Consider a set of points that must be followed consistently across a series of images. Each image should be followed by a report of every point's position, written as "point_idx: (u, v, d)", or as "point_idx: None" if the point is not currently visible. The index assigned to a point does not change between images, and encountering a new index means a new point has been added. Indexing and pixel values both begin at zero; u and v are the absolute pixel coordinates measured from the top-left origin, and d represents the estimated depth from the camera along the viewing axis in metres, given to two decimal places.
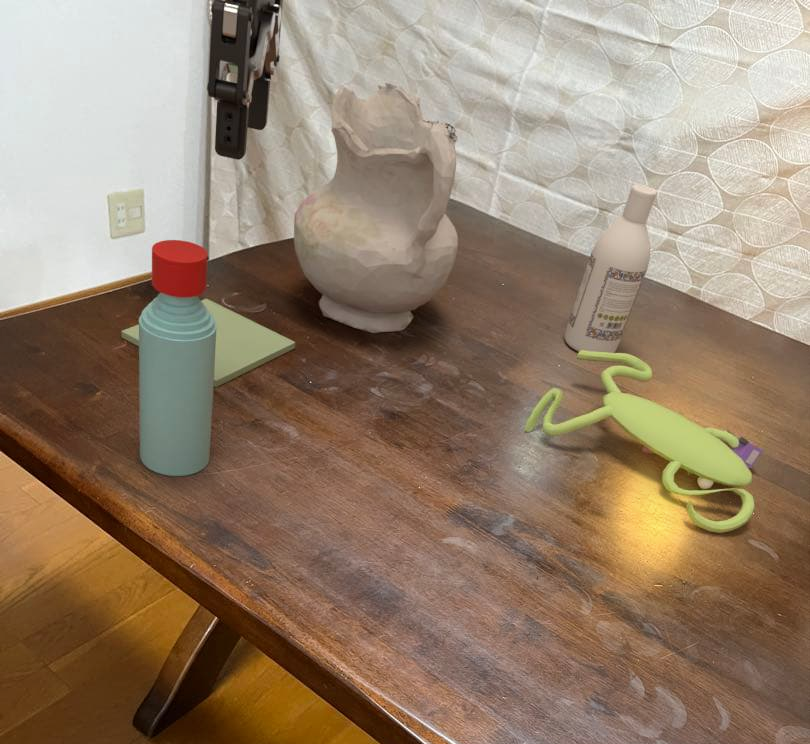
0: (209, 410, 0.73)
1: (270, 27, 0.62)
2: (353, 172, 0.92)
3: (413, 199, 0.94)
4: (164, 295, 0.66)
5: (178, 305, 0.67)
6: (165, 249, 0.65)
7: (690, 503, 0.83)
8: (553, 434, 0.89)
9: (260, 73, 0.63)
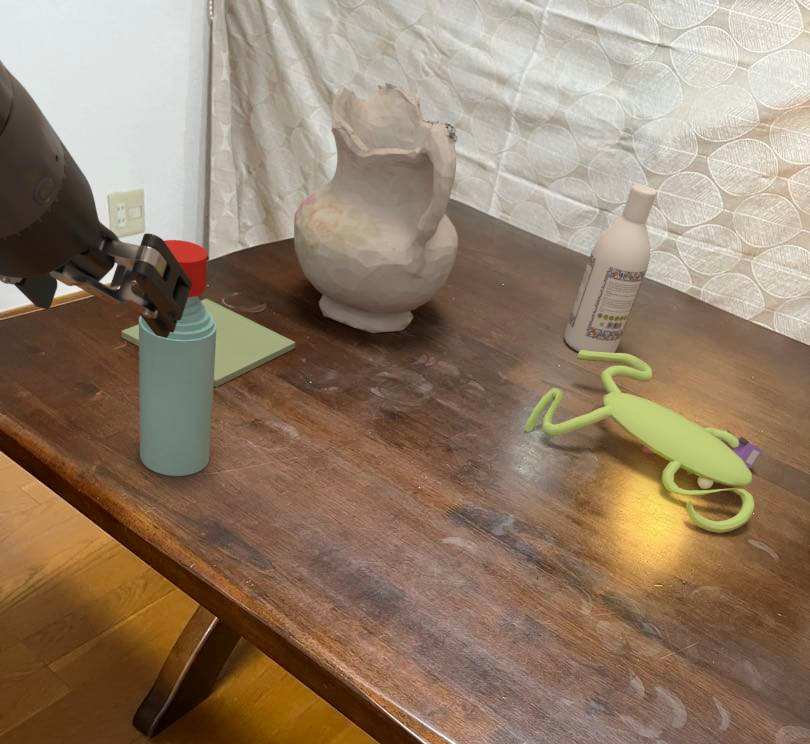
0: (209, 410, 0.73)
1: None
2: (353, 172, 0.92)
3: (413, 199, 0.94)
4: None
5: None
6: None
7: (690, 503, 0.83)
8: (553, 434, 0.89)
9: (13, 280, 0.53)
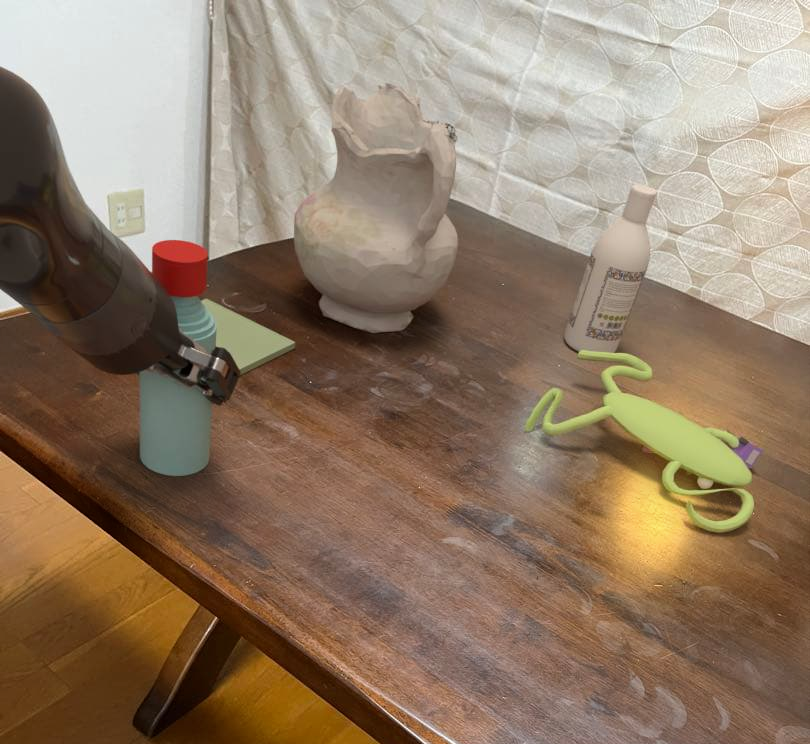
0: (209, 410, 0.73)
1: None
2: (353, 172, 0.92)
3: (413, 199, 0.94)
4: None
5: (178, 305, 0.67)
6: (165, 249, 0.65)
7: (690, 503, 0.83)
8: (553, 434, 0.89)
9: None
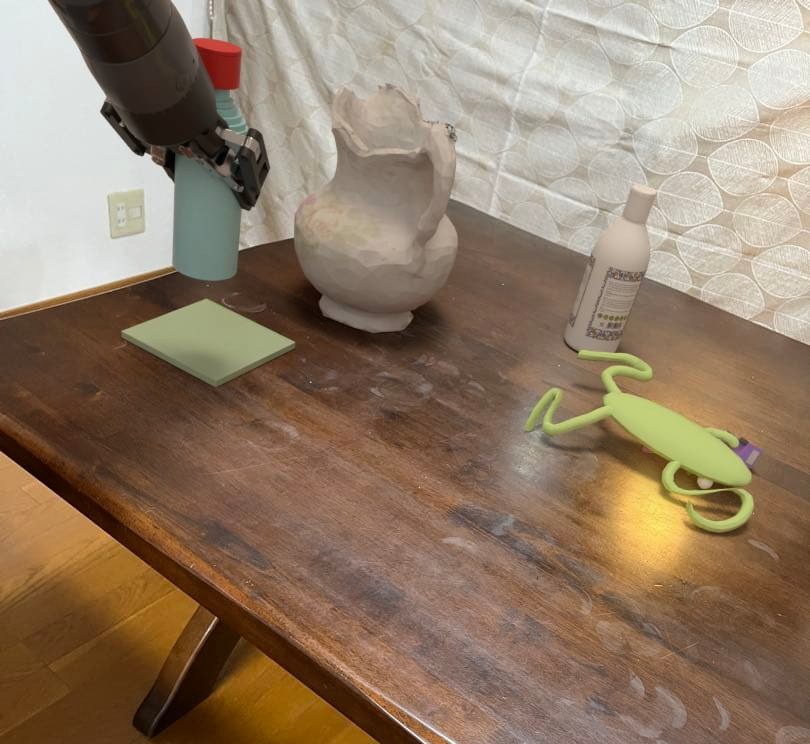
0: (238, 215, 0.78)
1: None
2: (353, 172, 0.92)
3: (413, 199, 0.94)
4: None
5: None
6: (203, 42, 0.70)
7: (689, 503, 0.83)
8: (553, 434, 0.89)
9: (160, 158, 0.73)
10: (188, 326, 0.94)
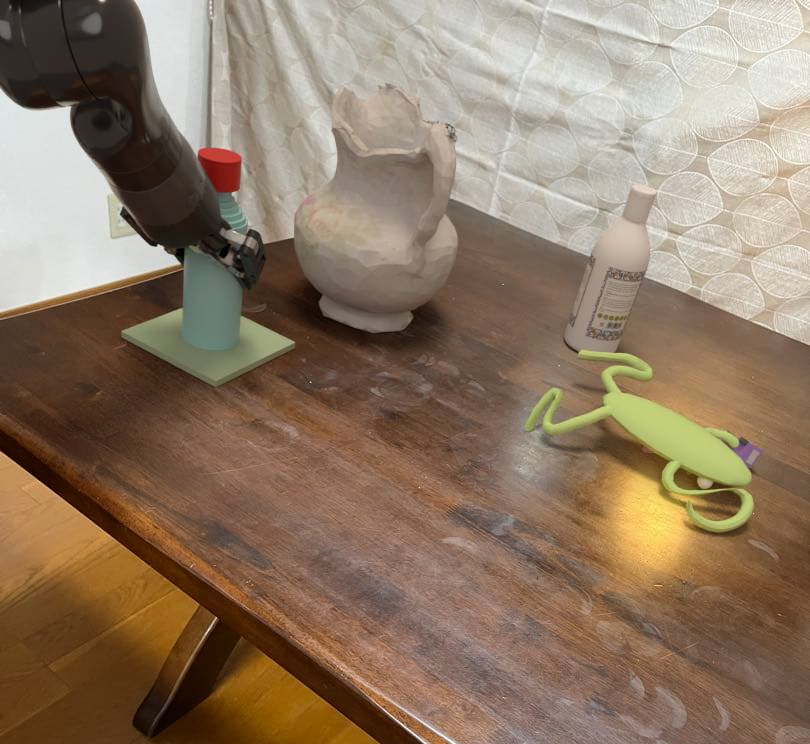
0: (240, 294, 0.89)
1: None
2: (353, 172, 0.92)
3: (413, 199, 0.94)
4: None
5: None
6: (208, 153, 0.81)
7: (689, 503, 0.83)
8: (553, 434, 0.89)
9: (171, 251, 0.84)
10: None
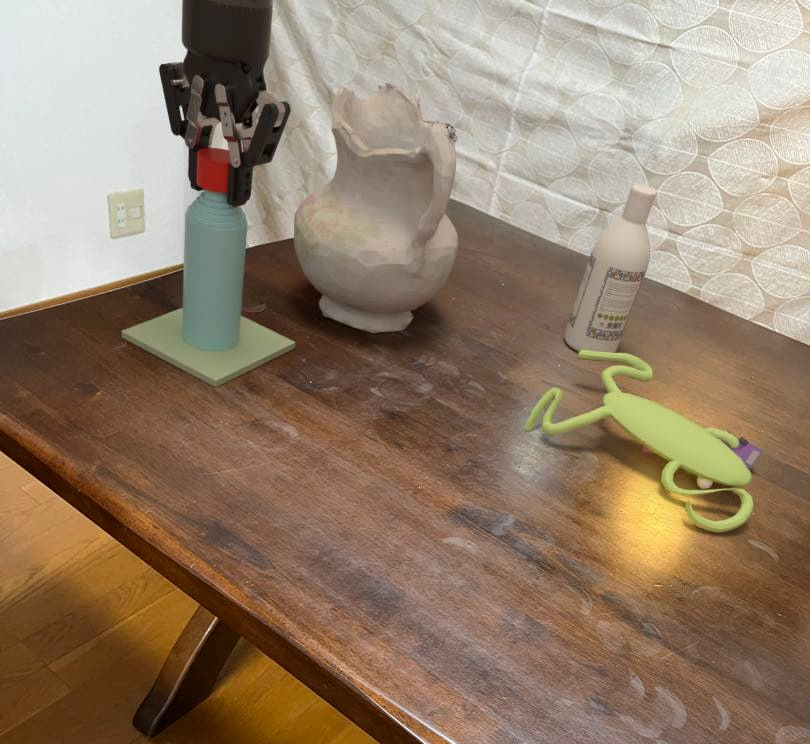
0: (240, 294, 0.89)
1: (192, 87, 0.77)
2: (353, 172, 0.92)
3: (413, 199, 0.94)
4: (206, 192, 0.82)
5: (217, 201, 0.83)
6: (208, 153, 0.81)
7: (689, 502, 0.83)
8: (552, 433, 0.89)
9: (193, 123, 0.79)
10: None
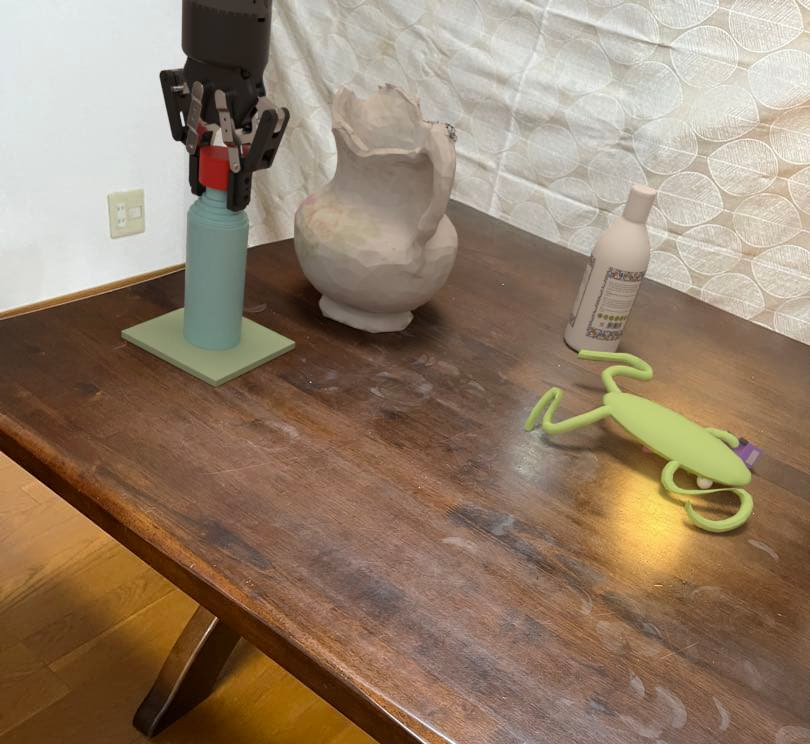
0: (242, 293, 0.89)
1: None
2: (353, 172, 0.92)
3: (413, 199, 0.94)
4: (208, 192, 0.82)
5: (220, 200, 0.83)
6: None
7: (688, 502, 0.83)
8: (552, 433, 0.89)
9: None
10: None
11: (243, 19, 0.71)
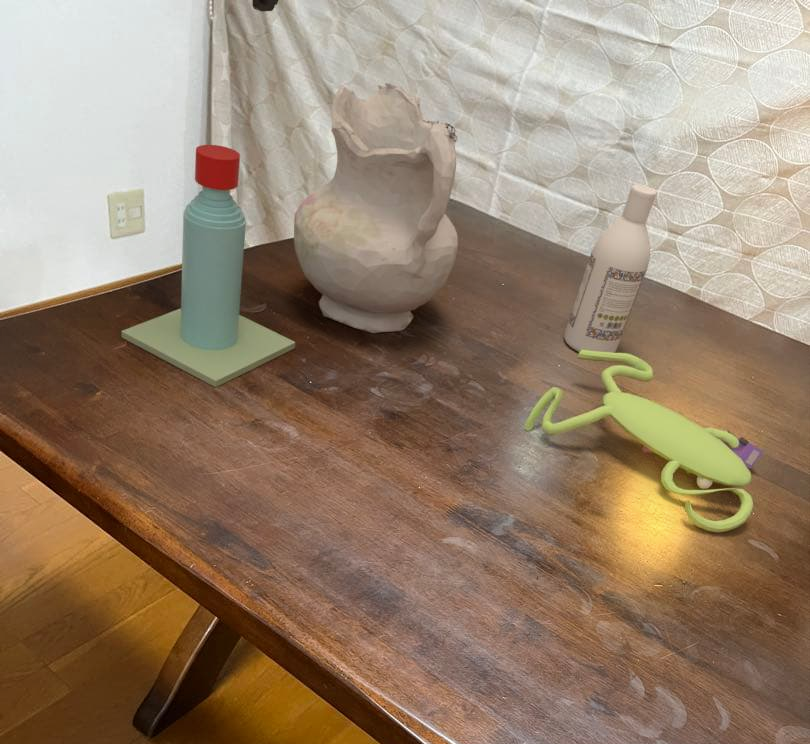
0: (238, 293, 0.89)
1: None
2: (353, 172, 0.92)
3: (413, 199, 0.94)
4: (205, 191, 0.82)
5: (216, 200, 0.83)
6: (229, 153, 0.81)
7: (688, 502, 0.83)
8: (552, 433, 0.89)
9: None
10: None
11: None
